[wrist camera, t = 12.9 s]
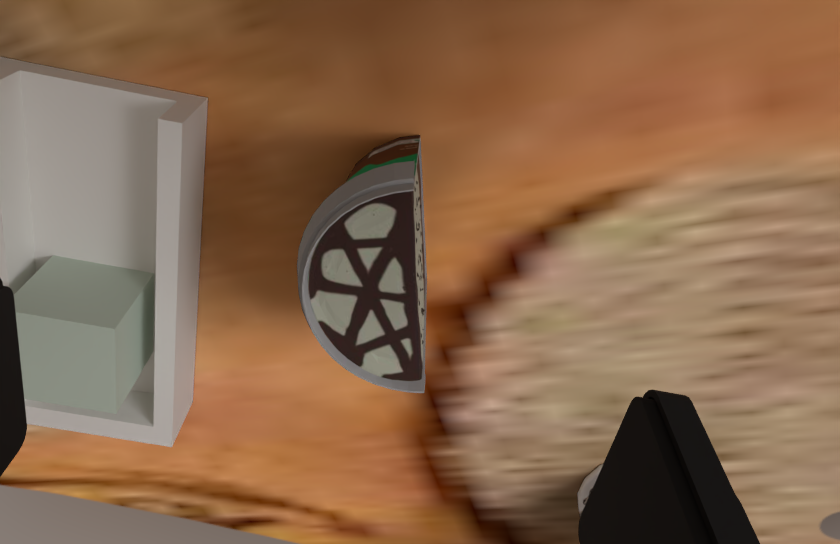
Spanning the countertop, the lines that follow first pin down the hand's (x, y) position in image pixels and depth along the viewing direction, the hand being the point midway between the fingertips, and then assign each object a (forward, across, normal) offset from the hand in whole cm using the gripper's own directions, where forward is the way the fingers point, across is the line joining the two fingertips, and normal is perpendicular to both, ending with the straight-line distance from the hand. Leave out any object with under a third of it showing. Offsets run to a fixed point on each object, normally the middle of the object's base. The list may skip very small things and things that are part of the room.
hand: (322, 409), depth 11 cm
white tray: (+30, +20, +17) cm, 40 cm away
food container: (+31, 0, +11) cm, 32 cm away
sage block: (+29, +15, +20) cm, 38 cm away
